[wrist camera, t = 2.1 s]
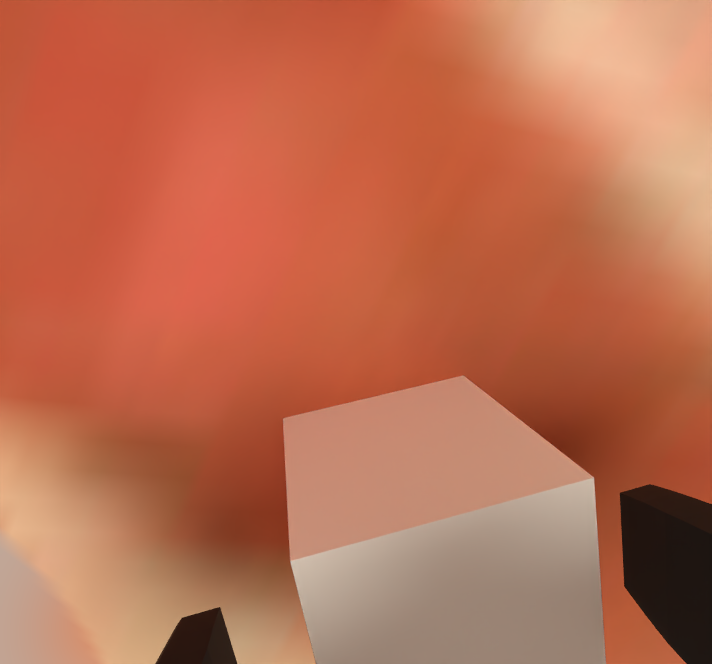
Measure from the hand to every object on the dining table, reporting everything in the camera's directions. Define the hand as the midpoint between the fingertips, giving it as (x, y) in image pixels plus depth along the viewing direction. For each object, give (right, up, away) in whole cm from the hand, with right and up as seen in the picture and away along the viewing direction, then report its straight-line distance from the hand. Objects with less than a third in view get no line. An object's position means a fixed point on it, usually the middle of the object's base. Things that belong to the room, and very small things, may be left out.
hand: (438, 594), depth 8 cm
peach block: (-1, +1, +4) cm, 4 cm away
